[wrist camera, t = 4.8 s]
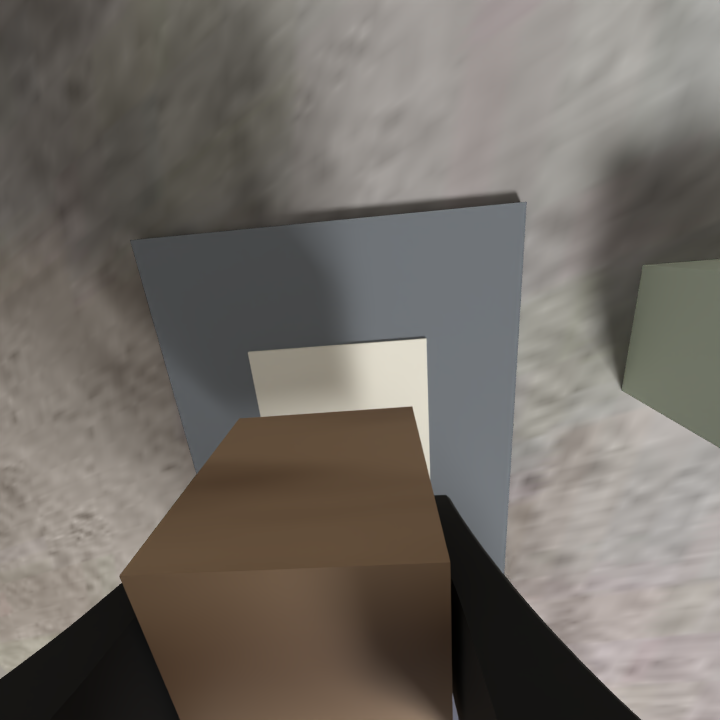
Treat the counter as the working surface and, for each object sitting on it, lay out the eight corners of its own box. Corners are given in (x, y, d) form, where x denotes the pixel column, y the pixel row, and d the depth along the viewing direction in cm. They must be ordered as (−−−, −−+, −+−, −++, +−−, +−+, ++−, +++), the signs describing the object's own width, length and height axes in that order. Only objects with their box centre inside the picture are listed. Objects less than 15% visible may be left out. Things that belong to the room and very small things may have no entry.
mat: (498, 611, 18) (502, 620, 18) (242, 619, 19) (239, 628, 19) (521, 203, 12) (527, 201, 12) (137, 240, 13) (128, 240, 12)
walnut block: (419, 544, 11) (453, 762, 7) (269, 550, 12) (198, 764, 7) (412, 406, 10) (450, 562, 5) (239, 418, 10) (119, 575, 5)
